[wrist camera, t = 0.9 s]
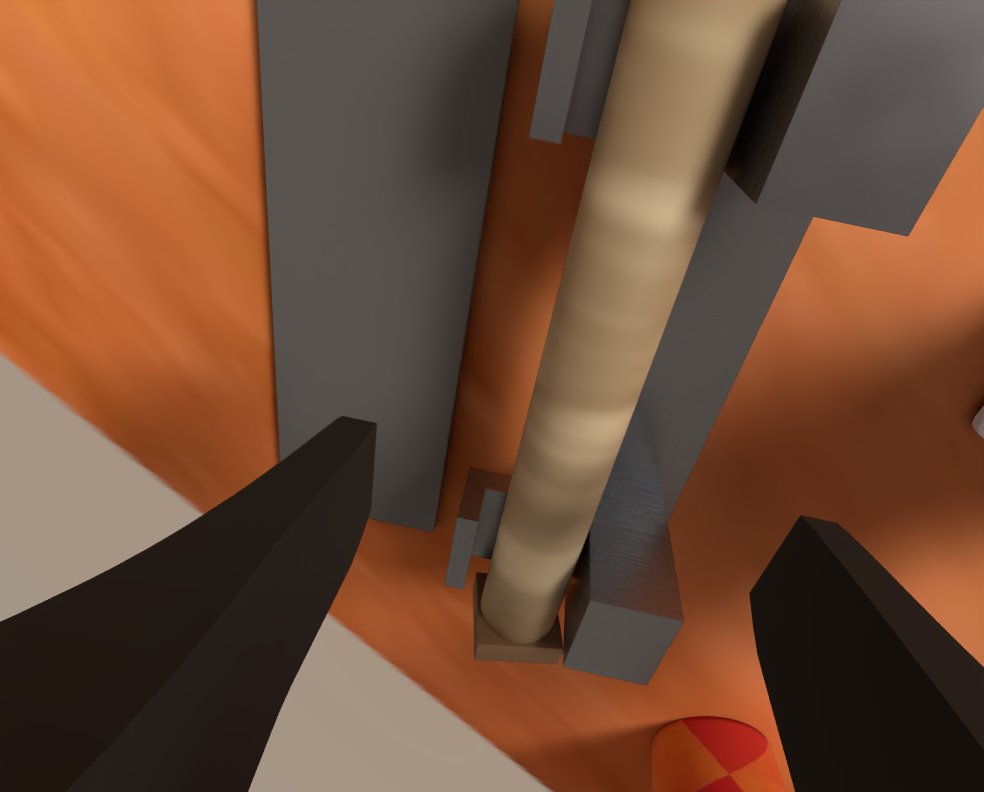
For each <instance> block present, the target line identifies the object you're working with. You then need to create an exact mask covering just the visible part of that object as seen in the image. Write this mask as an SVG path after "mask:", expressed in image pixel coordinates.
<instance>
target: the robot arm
mask: <svg viewBox="0 0 984 792" xmlns="http://www.w3.org/2000/svg"><path fill="white" fill-rule="evenodd" d="M972 426H973V428H974V430H975V431H976V432H977V433H978V434H979V435H980V436H981V437H982V438H984V406H983V407H982V408H981V410H980V411H979V412H978V413H977V415H976V416H975V418H974V420H973V422H972ZM376 432H377V423H374V422H369V421H365V420H360V419H356V418H351V417H346V416H341V417H339V418H337V419H336V420H334V421H333V422H332V423H330V424H329V425H328V426H326V427H325V428H324V429H323V430H321V431H320V432H319V433H317V434H316V435H315V436H314V437H312V438H311V439H310V440H309V441H307V442H306V443H305V444H303V445H302V446H301V447H299V448H298V449H297V450H295V451H294V452H293V453H292V454H290V455H289V456H288V457H286V458H285V459H284V460H282V461H281V462H280V463H278V464H277V465H275V466H274V467H273V468H271V469H270V470H268V471H267V472H266V473H264V474H263V475H261V476H260V477H259V478H257V479H256V480H254V481H253V482H252V483H250V484H249V485H248V486H246V487H245V488H243V489H242V490H240V491H239V492H237V493H236V494H235V495H233V496H231V497H230V498H228V499H227V500H225V501H224V502H222V503H221V504H219V505H218V506H216V507H215V508H213V509H211V510H210V511H208V512H207V513H205V514H204V515H202V516H201V517H199V518H198V519H196V520H194V521H193V522H191V523H190V524H188V525H187V526H185V527H183V528H182V529H180V530H179V531H177V532H175V533H173V534H172V535H170V536H168V537H167V538H165V539H163V540H162V541H160V542H158V543H156V544H155V545H153V546H151V547H150V548H148V549H146V550H144V551H142V552H140V553H139V554H137V555H135V556H133V557H131V558H129V559H128V560H126V561H124V562H122V563H120V564H119V565H117V566H115V567H113V568H111V569H109V570H107V571H105V572H103V573H101V574H99V575H97V576H95V577H94V578H91V579H90V580H87V581H85V582H83V583H81V584H79V585H77V586H75V587H73V588H71V589H69V590H67V591H65V592H63V593H61V594H58V595H56V596H54V597H52V598H50V599H48V600H46V601H44V602H42V603H40V604H38V605H35V606H33V607H31V608H29V609H27V610H25V611H23V612H21V613H19V614H17V615H14V616H12V617H10V618H8V619H5V620H3V621H1V622H0V792H248V790H249V788H250V785H251V783H252V780H253V777H254V775H255V772H256V770H257V767H258V765H259V762H260V760H261V757H262V755H263V752H264V749H265V747H266V744H267V742H268V739H269V737H270V734H271V731H272V729H273V727H274V724H275V721H276V719H277V716H278V714H279V711H280V709H281V707H282V705H283V703H284V700H285V698H286V696H287V694H288V691H289V689H290V687H291V685H292V683H293V681H294V679H295V677H296V675H297V673H298V671H299V669H300V667H301V665H302V663H303V661H304V659H305V657H306V655H307V653H308V651H309V649H310V647H311V645H312V642H313V641H314V639H315V637H316V635H317V633H318V631H319V629H320V627H321V625H322V623H323V620H324V619H325V617H326V615H327V613H328V611H329V609H330V607H331V605H332V603H333V601H334V599H335V597H336V595H337V593H338V591H339V589H340V587H341V584H342V582H343V580H344V578H345V576H346V574H347V572H348V570H349V568H350V566H351V564H352V562H353V559H354V556H355V554H356V551H357V548H358V546H359V543H360V540H361V537H362V534H363V532H364V529H365V526H366V523H367V520H368V517H369V515H370V512H371V504H372V490H373V476H374V461H375V447H376ZM749 594H750V603H751V611H752V620H753V628H754V635H755V641H756V648H757V654H758V658H759V661H760V665H761V669H762V673H763V677H764V681H765V684H766V688H767V692H768V695H769V699H770V703H771V706H772V710H773V714H774V717H775V721H776V724H777V728H778V732H779V735H780V739H781V742H782V746H783V750H784V753H785V757H786V760H787V764H788V768H789V771H790V775H791V778H792V782H793V786H794V789H795V792H984V667H983V666H982V665H981V664H980V663H979V662H978V661H977V660H976V659H975V658H974V657H973V656H972V655H971V654H969V653H968V652H967V651H966V650H965V649H964V648H963V647H962V646H961V645H960V644H959V643H958V642H957V641H956V640H955V639H954V638H953V637H952V636H951V635H950V634H949V633H948V632H947V631H946V630H945V629H944V628H943V627H942V626H941V625H940V624H939V623H938V622H937V621H936V620H935V619H934V618H933V617H932V616H931V615H930V614H929V613H928V612H927V611H926V610H925V609H924V608H923V607H922V606H921V605H920V604H919V603H918V602H917V601H916V600H915V599H914V598H913V597H912V596H911V595H910V594H909V593H908V592H907V591H906V590H905V589H904V587H903V586H902V585H901V584H900V583H899V582H898V581H897V580H896V579H895V578H894V577H893V576H892V575H891V574H890V573H889V572H888V571H887V570H886V569H885V568H884V567H883V566H882V565H881V564H880V563H879V562H878V561H877V560H876V559H875V558H874V557H873V556H872V555H871V554H870V553H869V552H868V551H867V550H866V549H865V548H864V547H863V546H862V545H861V544H860V543H859V542H857V541H856V540H855V539H854V538H853V537H852V536H851V535H850V534H849V533H848V532H847V531H846V530H844V529H843V528H842V527H841V526H840V525H839V524H838V523H834V522H830V521H825V520H820V519H816V518H811V517H807V516H802V515H801V516H800V517H799V519H798V520H797V522H796V523H795V525H794V526H793V528H792V529H791V531H790V532H789V534H788V535H787V537H786V538H785V540H784V541H783V543H782V545H781V546H780V548H779V549H778V551H777V552H776V554H775V555H774V557H773V558H772V560H771V561H770V563H769V564H768V566H767V567H766V569H765V570H764V572H763V573H762V575H761V577H760V578H759V580H758V581H757V583H756V584H755V586H754V587H753V589H752V590H751V592H750V593H749Z"/></svg>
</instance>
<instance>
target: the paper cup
mask: <svg viewBox="0 0 984 792" xmlns="http://www.w3.org/2000/svg"><path fill="white" fill-rule="evenodd" d="M652 792H786V790H785V787H784V784H783V781H782V778H781V775H780V772H779V769H778V766H777V763H776V760H775V758H774V755H773V752H772V749H771V747H770V745H769V742H768V741H767V739H766V737H765V736H764V735H763V734H762V733H761V732H759V731H758V730H757V729H755V728H753V727H751V726H749V725H747V724H745V723H742V722H739V721H736V720H732V719H727V718H720V717H693V718H687V719H682V720H678V721H675V722H673V723H670V724H668V725H666V726H664V727H663V728H661V729H660V730H659V731H658V732H657V733H656V734H655V736H654V738H653V741H652Z"/></svg>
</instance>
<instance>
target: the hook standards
mask: <svg viewBox="0 0 984 792" xmlns="http://www.w3.org/2000/svg"><path fill="white" fill-rule="evenodd" d="M629 4H630V0H555V1H554V6H553V12H552V17H551V22H550V28H549V33H548V38H547V44H546V49H545V54H544V60H543V65H542V70H541V76H540V81H539V86H538V91H537V97H536V102H535V107H534V113H533V118H532V123H531V129H530V134H529V138H533V139H538V140H543V141H548V142H553V143H558V144H561V140H562V136H563V133H567V134H572V135H577V136H582V137H587V138H592V139H596V137H597V133H598V129H599V125H600V121H601V117H602V113H603V109H604V105H605V101H606V96H607V92H608V88H609V84H610V80H611V76H612V72H613V68H614V64H615V60H616V56H617V52H618V48H619V44H620V40H621V36H622V32H623V28H624V24H625V20H626V16H627V12H628V8H629ZM983 107H984V0H788V1H787V4H786V7H785V9H784V12H783V15H782V17H781V20H780V23H779V25H778V28H777V31H776V33H775V36H774V39H773V41H772V44H771V47H770V49H769V52H768V55H767V57H766V60H765V63H764V65H763V68H762V71H761V73H760V76H759V79H758V81H757V84H756V87H755V89H754V92H753V95H752V97H751V100H750V103H749V105H748V108H747V111H746V113H745V116H744V118H743V121H742V124H741V126H740V129H739V132H738V134H737V137H736V140H735V142H734V145H733V148H732V150H731V153H730V156H729V158H728V161H727V164H726V166H725V169H724V172H723V174H722V177H721V180H720V182H719V185H718V188H717V190H716V193H715V196H714V198H713V201H712V204H711V206H710V209H709V212H708V214H707V217H706V220H705V222H704V225H703V228H702V230H701V233H700V236H699V238H698V241H697V244H696V246H695V249H694V252H693V254H692V257H691V260H690V262H689V265H688V268H687V270H686V273H685V276H684V278H683V281H682V284H681V286H680V289H679V292H678V294H677V297H676V300H675V302H674V305H673V308H672V310H671V313H670V316H669V318H668V321H667V324H666V326H665V329H664V332H663V334H662V337H661V340H660V342H659V345H658V348H657V350H656V353H655V356H654V358H653V361H652V364H651V366H650V369H649V372H648V374H647V377H646V380H645V382H644V385H643V388H642V390H641V393H640V396H639V398H638V401H637V404H636V406H635V409H634V412H633V414H632V417H631V420H630V422H629V425H628V428H627V430H626V433H625V436H624V438H623V441H622V444H621V446H620V449H619V452H618V454H617V457H616V460H615V462H614V465H613V468H612V470H611V473H610V476H609V478H608V481H607V484H606V486H605V489H604V492H603V494H602V497H601V499H600V502H599V505H598V507H597V510H596V513H595V515H594V518H593V521H592V523H591V526H590V529H589V531H588V534H587V537H586V539H585V542H584V545H583V547H582V550H581V553H580V555H579V558H578V561H577V563H576V566H575V569H574V571H573V574H572V577H571V579H570V582H569V585H568V587H567V590H566V593H565V621H564V649H563V667H567V668H571V669H575V670H580V671H584V672H589V673H593V674H597V675H602V676H606V677H610V678H615V679H619V680H624V681H628V682H632V683H637V684H641V685H646V686H647V684H648V682H649V681H650V679H651V677H652V676H653V674H654V672H655V670H656V669H657V667H658V665H659V664H660V662H661V660H662V658H663V657H664V655H665V653H666V651H667V650H668V648H669V646H670V645H671V643H672V641H673V639H674V638H675V636H676V634H677V633H678V631H679V629H680V627H681V626H682V624H683V622H684V619H683V613H682V607H681V601H680V595H679V589H678V583H677V577H676V571H675V565H674V559H673V553H672V547H671V541H670V535H669V529H668V523H667V521H668V519H669V517H670V515H671V513H672V511H673V509H674V506H675V504H676V502H677V500H678V498H679V496H680V494H681V492H682V490H683V488H684V486H685V483H686V481H687V479H688V477H689V475H690V473H691V471H692V469H693V467H694V465H695V463H696V461H697V458H698V456H699V454H700V452H701V450H702V448H703V446H704V444H705V442H706V440H707V438H708V435H709V433H710V431H711V429H712V427H713V425H714V423H715V421H716V419H717V417H718V415H719V412H720V410H721V408H722V406H723V404H724V402H725V400H726V398H727V396H728V394H729V392H730V389H731V387H732V385H733V383H734V381H735V379H736V377H737V375H738V373H739V371H740V369H741V367H742V364H743V362H744V360H745V358H746V356H747V354H748V352H749V350H750V348H751V346H752V344H753V341H754V339H755V337H756V335H757V333H758V331H759V329H760V327H761V325H762V323H763V321H764V318H765V316H766V314H767V312H768V310H769V308H770V306H771V304H772V302H773V300H774V298H775V296H776V293H777V291H778V289H779V287H780V285H781V283H782V281H783V279H784V277H785V275H786V273H787V270H788V268H789V266H790V264H791V262H792V260H793V258H794V256H795V254H796V252H797V250H798V247H799V245H800V243H801V241H802V239H803V237H804V235H805V233H806V231H807V229H808V227H809V224H810V222H811V220H812V218H813V217H817V218H822V219H827V220H832V221H836V222H841V223H846V224H851V225H856V226H860V227H865V228H870V229H875V230H880V231H885V232H889V233H894V234H899V235H904V236H909V234H910V232H911V231H912V229H913V227H914V225H915V224H916V222H917V220H918V219H919V217H920V215H921V213H922V212H923V210H924V208H925V206H926V205H927V203H928V201H929V200H930V198H931V196H932V194H933V193H934V191H935V189H936V188H937V186H938V184H939V182H940V181H941V179H942V177H943V176H944V174H945V172H946V170H947V169H948V167H949V165H950V164H951V162H952V160H953V158H954V157H955V155H956V153H957V152H958V150H959V148H960V146H961V145H962V143H963V141H964V139H965V138H966V136H967V134H968V133H969V131H970V129H971V127H972V126H973V124H974V122H975V121H976V119H977V117H978V115H979V114H980V112H981V110H982V109H983ZM511 478H512V476H508V475H503V474H499V473H494V472H490V471H485V470H480V469H476V468H471V467H470V471H469V475H468V478H467V482H466V486H465V490H464V494H463V498H462V501H461V505H460V509H459V513H458V517H457V522H456V527H455V532H454V538H453V543H452V548H451V554H450V559H449V564H448V570H447V575H446V580H445V585H446V586H450V587H454V588H459V589H464V585H465V580H466V576H467V571H468V566H469V562H470V557H471V555H474V556H478V557H483V558H487V559H491V558H492V554H493V550H494V546H495V542H496V538H497V534H498V530H499V526H500V522H501V518H502V514H503V510H504V506H505V502H506V498H507V494H508V490H509V486H510V482H511Z"/></svg>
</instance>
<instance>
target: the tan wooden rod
mask: <svg viewBox="0 0 984 792" xmlns="http://www.w3.org/2000/svg"><path fill="white" fill-rule="evenodd" d="M787 1H788V0H630V4H629V8H628V12H627V16H626V20H625V24H624V28H623V32H622V36H621V40H620V44H619V48H618V52H617V56H616V60H615V64H614V68H613V72H612V76H611V80H610V84H609V88H608V92H607V96H606V101H605V105H604V109H603V113H602V117H601V121H600V125H599V129H598V133H597V137H596V141H595V145H594V149H593V153H592V157H591V161H590V165H589V169H588V173H587V177H586V181H585V185H584V189H583V193H582V197H581V201H580V205H579V209H578V213H577V217H576V221H575V225H574V229H573V233H572V237H571V241H570V245H569V249H568V253H567V257H566V261H565V265H564V269H563V273H562V277H561V281H560V285H559V289H558V293H557V297H556V301H555V305H554V309H553V313H552V317H551V321H550V325H549V329H548V333H547V337H546V341H545V345H544V349H543V353H542V357H541V361H540V366H539V370H538V374H537V378H536V382H535V386H534V390H533V394H532V398H531V402H530V406H529V410H528V414H527V418H526V422H525V426H524V430H523V434H522V438H521V442H520V446H519V450H518V454H517V458H516V462H515V466H514V470H513V474H512V478H511V482H510V486H509V490H508V494H507V498H506V502H505V506H504V510H503V514H502V518H501V522H500V526H499V530H498V534H497V538H496V542H495V546H494V550H493V554H492V558H491V562H490V566H489V570H488V573H476V577H475V581H474V585H473V614H474V660H490V661H509V662H528V663H546V664H558V662H559V659H560V657H561V655H562V652H563V649H564V648H563V642H562V636H561V629H560V623H559V617H558V611H559V609H560V606H561V603H562V601H563V598H564V595H565V593H566V590H567V587H568V585H569V582H570V579H571V577H572V574H573V571H574V569H575V566H576V563H577V561H578V558H579V555H580V553H581V550H582V547H583V545H584V542H585V539H586V537H587V534H588V531H589V529H590V526H591V523H592V521H593V518H594V515H595V513H596V510H597V507H598V505H599V502H600V499H601V497H602V494H603V492H604V489H605V486H606V484H607V481H608V478H609V476H610V473H611V470H612V468H613V465H614V462H615V460H616V457H617V454H618V452H619V449H620V446H621V444H622V441H623V438H624V436H625V433H626V430H627V428H628V425H629V422H630V420H631V417H632V414H633V412H634V409H635V406H636V404H637V401H638V398H639V396H640V393H641V390H642V388H643V385H644V382H645V380H646V377H647V374H648V372H649V369H650V366H651V364H652V361H653V358H654V356H655V353H656V350H657V348H658V345H659V342H660V340H661V337H662V334H663V332H664V329H665V326H666V324H667V321H668V318H669V316H670V313H671V310H672V308H673V305H674V302H675V300H676V297H677V294H678V292H679V289H680V286H681V284H682V281H683V278H684V276H685V273H686V270H687V268H688V265H689V262H690V260H691V257H692V254H693V252H694V249H695V246H696V244H697V241H698V238H699V236H700V233H701V230H702V228H703V225H704V222H705V220H706V217H707V214H708V212H709V209H710V206H711V204H712V201H713V198H714V196H715V193H716V190H717V188H718V185H719V182H720V180H721V177H722V174H723V172H724V169H725V166H726V164H727V161H728V158H729V156H730V153H731V150H732V148H733V145H734V142H735V140H736V137H737V134H738V132H739V129H740V126H741V124H742V121H743V118H744V116H745V113H746V111H747V108H748V105H749V103H750V100H751V97H752V95H753V92H754V89H755V87H756V84H757V81H758V79H759V76H760V73H761V71H762V68H763V65H764V63H765V60H766V57H767V55H768V52H769V49H770V47H771V44H772V41H773V39H774V36H775V33H776V31H777V28H778V25H779V23H780V20H781V17H782V15H783V12H784V9H785V7H786V4H787Z"/></svg>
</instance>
